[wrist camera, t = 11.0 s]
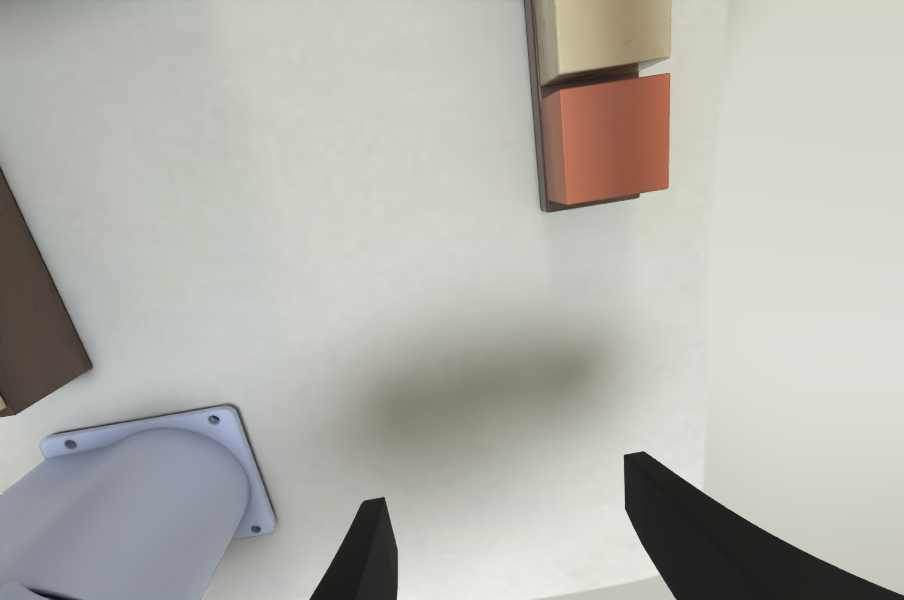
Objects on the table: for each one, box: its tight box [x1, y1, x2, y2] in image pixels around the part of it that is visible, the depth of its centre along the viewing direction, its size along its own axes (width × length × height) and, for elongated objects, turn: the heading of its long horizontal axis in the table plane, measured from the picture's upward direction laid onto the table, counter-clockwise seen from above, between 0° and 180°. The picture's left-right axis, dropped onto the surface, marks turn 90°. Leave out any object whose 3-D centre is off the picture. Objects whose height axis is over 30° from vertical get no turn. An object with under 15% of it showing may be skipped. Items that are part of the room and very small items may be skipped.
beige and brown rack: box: [524, 0, 671, 213], centre depth 15 cm, size 4×14×3 cm, turn 9°
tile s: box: [541, 73, 670, 205], centre depth 16 cm, size 4×4×2 cm
